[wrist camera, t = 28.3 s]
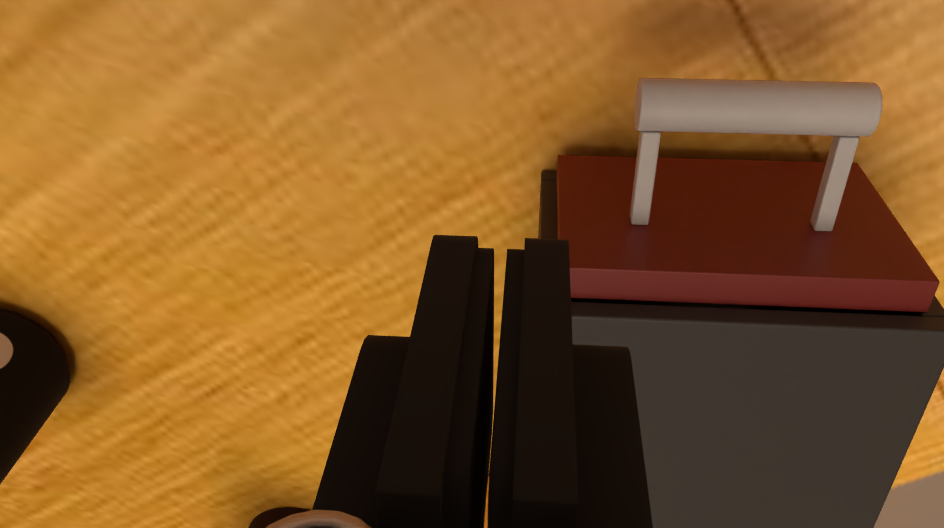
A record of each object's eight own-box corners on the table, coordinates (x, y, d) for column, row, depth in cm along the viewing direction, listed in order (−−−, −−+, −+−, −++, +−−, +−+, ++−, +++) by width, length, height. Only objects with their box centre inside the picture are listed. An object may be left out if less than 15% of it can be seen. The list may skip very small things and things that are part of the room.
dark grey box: (541, 170, 32) (538, 314, 24) (857, 179, 31) (960, 332, 24) (530, 422, 41) (525, 591, 33) (780, 435, 40) (837, 612, 32)
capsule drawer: (565, 27, 28) (569, 117, 22) (896, 32, 27) (1002, 128, 21) (543, 403, 39) (542, 539, 32) (782, 415, 38) (829, 556, 31)
